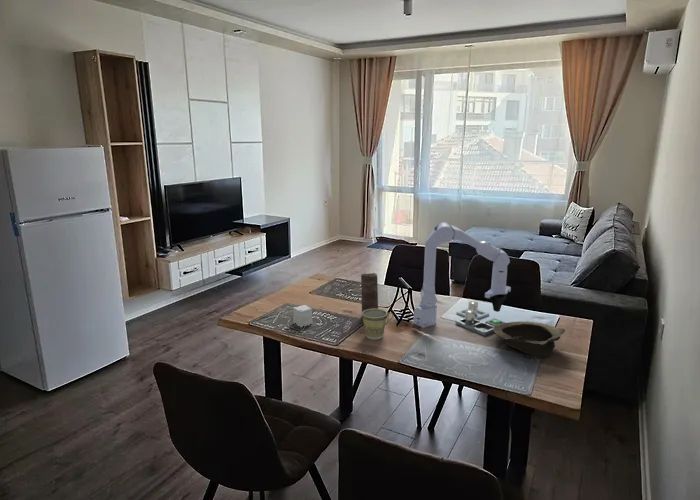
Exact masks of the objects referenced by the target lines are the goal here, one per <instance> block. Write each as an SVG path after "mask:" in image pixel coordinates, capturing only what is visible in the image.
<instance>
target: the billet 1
mask: <svg viewBox="0 0 700 500" xmlns="http://www.w3.org/2000/svg"><path fill="white" fill-rule="evenodd" d="M467 308H468V310H474V311H475V317H477V316H478V309H479V302H478V301H475V300H472V301H468V307H467Z"/></svg>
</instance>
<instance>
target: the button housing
mask: <svg viewBox="0 0 700 500" xmlns="http://www.w3.org/2000/svg"><path fill="white" fill-rule="evenodd" d="M492 320H499V321H500V324H502V323H507V322H506V321H503V320H500V319H498V318H497V319H496V318H494V317H493V318H492V319H489V320H486V321H484V323H487V324H490V325H492V326H497V325H496V324H493V323H492ZM500 324H498V325H500Z"/></svg>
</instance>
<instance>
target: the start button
mask: <svg viewBox="0 0 700 500" xmlns="http://www.w3.org/2000/svg"><path fill="white" fill-rule="evenodd" d="M491 320H492V319H491ZM499 320H500V319H497V320H492V323H493V324H496V325H498V324H500V321H501V320H500V321H499Z"/></svg>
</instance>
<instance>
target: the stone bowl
mask: <svg viewBox="0 0 700 500" xmlns="http://www.w3.org/2000/svg"><path fill="white" fill-rule="evenodd" d="M493 331H494V333H495V334H496V335H497V336H498V337H500V338H502V340H503V341H504V344H506V345H507V346H509V347H511V348H513V349H514V350H515V349H516V350H519V352H522V353H525V355H526V357H527V358H528V359H531V358H534V359H543V358H546V357H549V356H551V355H552V354H553V353H554V349H555V348H556V343H555V342H557V341H559V340H560V339H561V337H562V335H563V334H564V333H565V332H566V330H565V329H564V328H559V327H558V328H557V327H556V326H554V325H549V324H544V323H541V322H534V321H521V320H520V321H511V322H506V323H502V324H500V325H497V326H495V327H494V330H493Z"/></svg>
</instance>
